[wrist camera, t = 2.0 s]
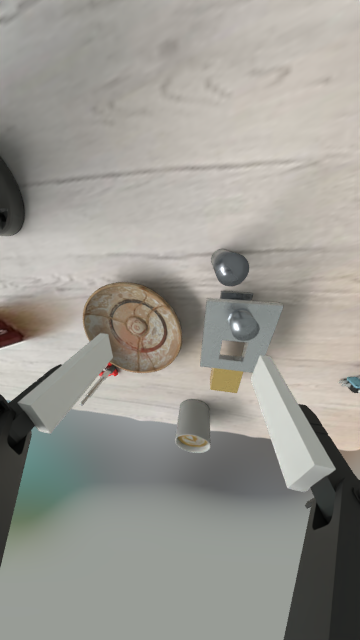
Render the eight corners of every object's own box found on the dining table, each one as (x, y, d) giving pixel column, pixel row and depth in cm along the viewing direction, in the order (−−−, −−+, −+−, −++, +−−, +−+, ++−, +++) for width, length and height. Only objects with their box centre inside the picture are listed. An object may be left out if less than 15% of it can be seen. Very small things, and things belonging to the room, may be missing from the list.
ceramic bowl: (204, 328, 35) (204, 340, 30) (146, 371, 45) (140, 385, 40) (127, 253, 29) (113, 255, 25) (81, 322, 39) (65, 331, 35)
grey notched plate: (206, 290, 30) (207, 309, 21) (267, 293, 29) (295, 315, 20) (198, 367, 40) (197, 401, 32) (243, 372, 39) (255, 410, 30)
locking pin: (212, 249, 26) (218, 253, 15) (231, 249, 26) (252, 253, 15) (210, 268, 28) (214, 285, 17) (228, 269, 28) (245, 287, 16)
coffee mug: (179, 397, 48) (174, 432, 39) (210, 401, 46) (211, 438, 38) (180, 420, 54) (175, 454, 45) (207, 424, 53) (208, 460, 44)
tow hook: (96, 373, 49) (120, 374, 47) (62, 412, 38) (91, 415, 36) (85, 354, 46) (110, 354, 43) (44, 390, 34) (75, 392, 32)
